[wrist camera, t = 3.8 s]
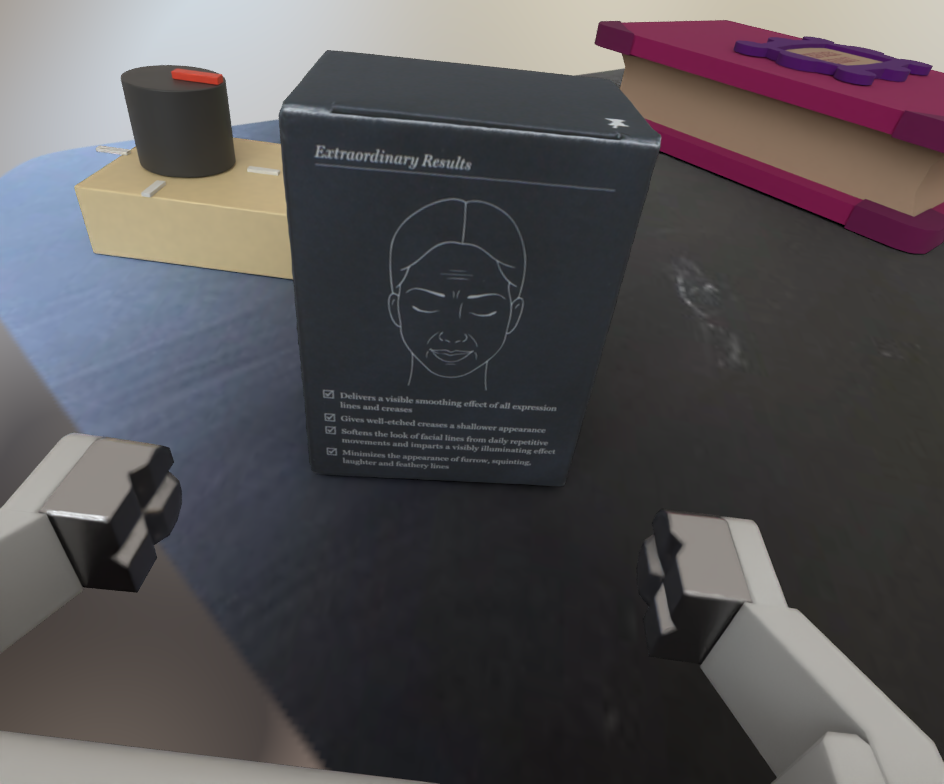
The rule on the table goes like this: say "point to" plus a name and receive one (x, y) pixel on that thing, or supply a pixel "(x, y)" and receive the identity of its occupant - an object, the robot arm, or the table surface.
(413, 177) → the box
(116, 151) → the panel
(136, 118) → the dial
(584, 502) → the table surface
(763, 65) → the book
